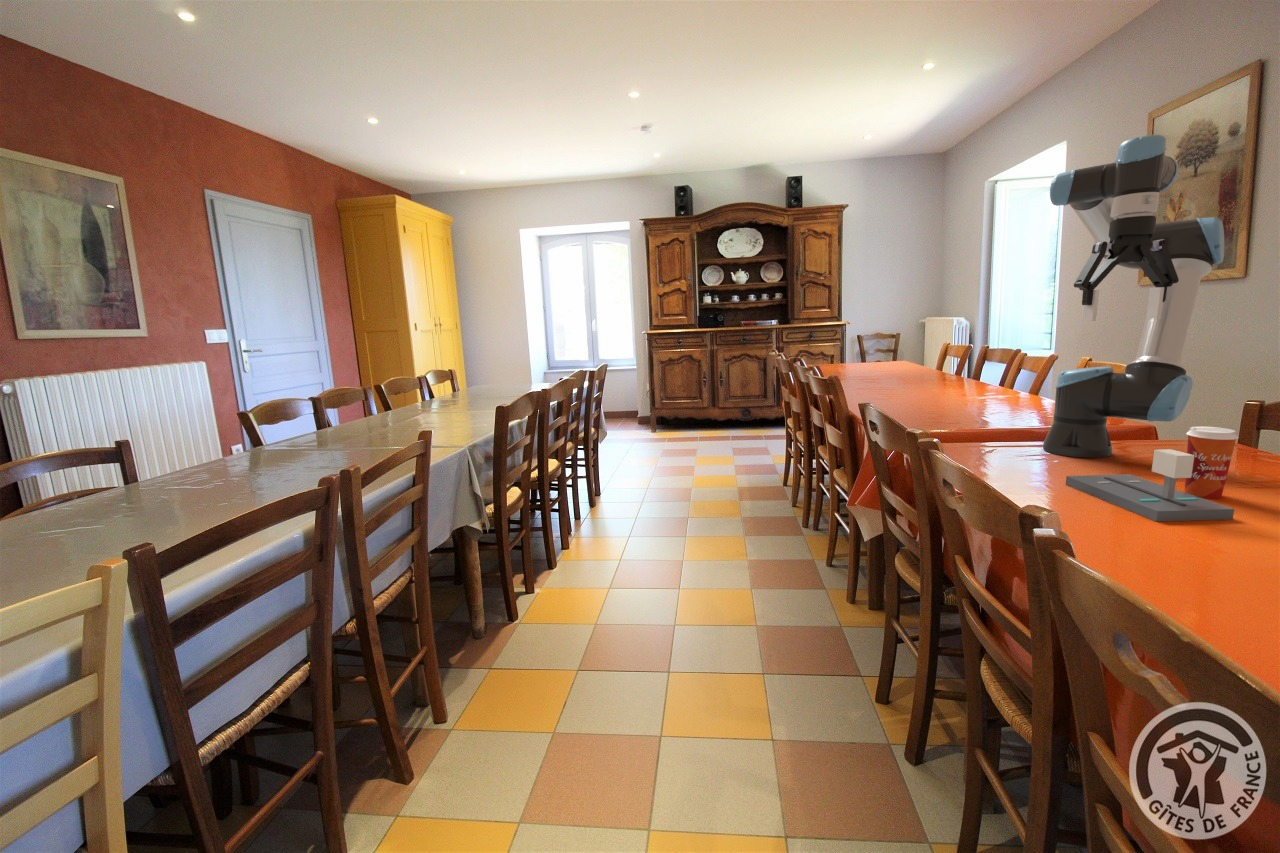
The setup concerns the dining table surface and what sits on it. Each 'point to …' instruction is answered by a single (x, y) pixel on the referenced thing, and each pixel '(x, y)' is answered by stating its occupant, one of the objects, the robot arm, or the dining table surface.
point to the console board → (1149, 498)
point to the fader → (1172, 468)
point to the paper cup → (1209, 460)
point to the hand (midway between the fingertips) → (1121, 319)
